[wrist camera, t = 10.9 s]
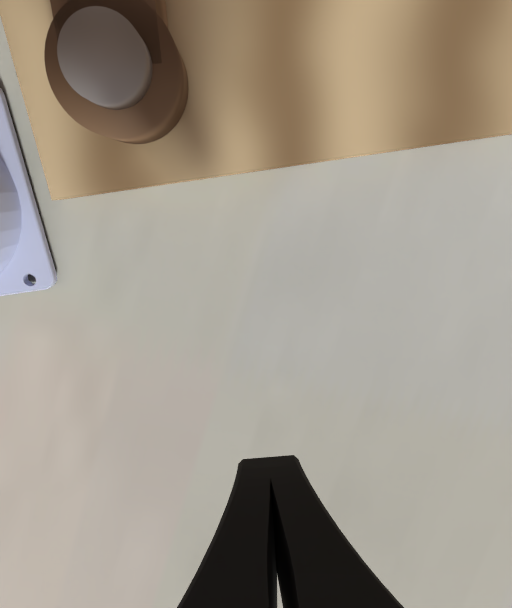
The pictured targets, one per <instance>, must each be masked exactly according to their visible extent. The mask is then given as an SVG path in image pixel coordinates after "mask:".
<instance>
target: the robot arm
mask: <svg viewBox="0 0 512 608" xmlns="http://www.w3.org/2000/svg"><path fill="white" fill-rule="evenodd" d="M29 274H32V275H33V276H34V277H35V278H36V283H35V284H33V283H31V282H30V281H29V279H28V275H29ZM56 281H57V274H56V270H55V267H54V263H53V260H52V257H51V253H50V250H49V246H48V243H47V239H46V236H45V232H44V229H43V226H42V222H41V219H40V215H39V212H38V208H37V205H36V201H35V198H34V195H33V191H32V188H31V184H30V181H29V177H28V174H27V171H26V167H25V164H24V160H23V157H22V153H21V150H20V146H19V143H18V140H17V136H16V133H15V129H14V126H13V122H12V119H11V115H10V112H9V109H8V105H7V102H6V98H5V95H4V93H3V91H2V89H1V88H0V296H3V295H10V294H17V293H24V292H31V291H38V290H45V289H48V288H50V287H52V286H53V285H54V284H55V283H56ZM277 575H278V580H279V586H280V592H281V598H282V603H283V608H404V607H403V606H402V605H401V604H400V603H399V602H398V601H397V600H396V598H395V597H394V596H393V595H392V594H391V593H390V592H389V591H388V589H387V588H386V587H385V586H384V585H383V584H382V583H381V581H380V580H379V579H378V578H377V577H376V575H375V574H374V573H373V572H372V571H371V569H370V568H369V567H368V566H367V565H366V563H365V562H364V561H363V560H362V558H361V557H360V556H359V554H358V553H357V552H356V550H355V549H354V548H353V547H352V545H351V544H350V543H349V541H348V540H347V539H346V537H345V536H344V535H343V533H342V532H341V530H340V529H339V528H338V526H337V525H336V523H335V522H334V520H333V519H332V517H331V516H330V514H329V513H328V511H327V510H326V508H325V507H324V505H323V504H322V502H321V501H320V499H319V498H318V496H317V494H316V493H315V491H314V489H313V487H312V486H311V484H310V482H309V480H308V479H307V477H306V475H305V473H304V471H303V469H302V467H301V465H300V462H299V460H298V459H297V458H296V457H295V456H294V455H291V456H278V457H266V458H253V459H243V460H242V461H241V462H240V463H239V464H238V470H237V474H236V478H235V482H234V485H233V488H232V492H231V494H230V497H229V500H228V503H227V506H226V508H225V511H224V513H223V516H222V518H221V520H220V523H219V525H218V528H217V530H216V533H215V535H214V537H213V539H212V541H211V543H210V546H209V548H208V550H207V552H206V554H205V556H204V558H203V560H202V562H201V564H200V566H199V568H198V570H197V572H196V574H195V576H194V578H193V580H192V582H191V584H190V586H189V587H188V589H187V591H186V593H185V595H184V596H183V598H182V600H181V602H180V603H179V605H178V607H177V608H277Z"/></svg>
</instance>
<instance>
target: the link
mask: <svg viewBox="0 0 512 608" xmlns="http://www.w3.org/2000/svg"><path fill="white" fill-rule="evenodd" d="M50 3H51V9H52V14H53V20H52V22H51V24H50V27H49V30H48V32H47V37H46V41H45V50H44V61H45V68H46V73H47V77H48V81H49V84H50V86H51V89H52V91H53V93H54V95H55V97H56V99H57V100H58V102H59V103H60V105H61V106H62V108H63V109H64V110H65V111H66V112H67V114H68V115H69V116H70V117H71V118H73V119H74V120H75V121H76V122H77V123H79V124H80V125H81V126H83V127H85V128H86V129H88V130H90V131H92V132H94V133H97V134H99V135H102V136H105V137H108V138H111V139H114V140H117V141H120V142H124V143H128V144H146V143H150V142H154V141H156V140H158V139H160V138H162V137H164V136H165V135H167V134H168V133H169V132H170V131H171V130H172V129H173V128H174V127H175V126H176V125H177V123H178V122H179V120H180V119H181V117H182V115H183V113H184V110H185V107H186V104H187V99H188V90H189V87H188V76H187V71H186V67H185V64H184V62H183V59H182V57H181V55H180V53H179V50H178V48H177V46H176V44H175V42H174V40H173V38H172V36H171V34H170V32H169V29H168V20H167V11H166V2H165V0H50Z"/></svg>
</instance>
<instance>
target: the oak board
mask: <svg viewBox="0 0 512 608" xmlns="http://www.w3.org/2000/svg"><path fill="white" fill-rule="evenodd" d="M165 2H166V11H167V20H168V29H169V32H170V34H171V36H172V38H173V40H174V42H175V44H176V46H177V48H178V50H179V53H180V55H181V57H182V59H183V62H184V64H185V67H186V71H187V76H188V87H189V90H188V99H187V104H186V107H185V110H184V113H183V115H182V117H181V119H180V120H179V122H178V123H177V125H176V126H175V127H174V128H173V129H172V130H171V131H170V132H169V133H168V134H167V135H165V136H164V137H162V138H160V139H158V140H156V141H154V142H150V143H146V144H128V143H124V142H120V141H117V140H114V139H111V138H108V137H105V136H102V135H99V134H97V133H94V132H92V131H90V130H88V129H86V128H85V127H83V126H81V125H80V124H79V123H77V122H76V121H75V120H74V119H73V118H71V117H70V116H69V115H68V114H67V112H66V111H65V110H64V109H63V108H62V106H61V105H60V103H59V102H58V100H57V99H56V97H55V95H54V93H53V91H52V89H51V86H50V84H49V81H48V77H47V73H46V68H45V61H44V50H45V41H46V37H47V32H48V30H49V27H50V24H51V22H52V20H53V14H52V9H51V3H50V0H0V16H1V19H2V23H3V26H4V30H5V34H6V37H7V41H8V44H9V48H10V51H11V55H12V59H13V62H14V66H15V69H16V73H17V77H18V80H19V84H20V87H21V91H22V95H23V98H24V102H25V105H26V109H27V112H28V116H29V120H30V123H31V127H32V130H33V134H34V138H35V141H36V145H37V148H38V152H39V156H40V159H41V163H42V166H43V170H44V174H45V177H46V181H47V184H48V188H49V191H50V195H51V199H52V200H61V199H69V198H75V197H82V196H89V195H96V194H103V193H110V192H117V191H124V190H131V189H137V188H144V187H151V186H158V185H165V184H172V183H179V182H186V181H192V180H199V179H206V178H213V177H220V176H227V175H234V174H241V173H248V172H254V171H261V170H268V169H275V168H282V167H289V166H296V165H303V164H310V163H316V162H323V161H330V160H337V159H344V158H351V157H358V156H365V155H372V154H378V153H385V152H392V151H399V150H406V149H413V148H420V147H427V146H434V145H440V144H447V143H454V142H461V141H468V140H475V139H482V138H489V137H496V136H502V135H509V134H512V0H165Z"/></svg>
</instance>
